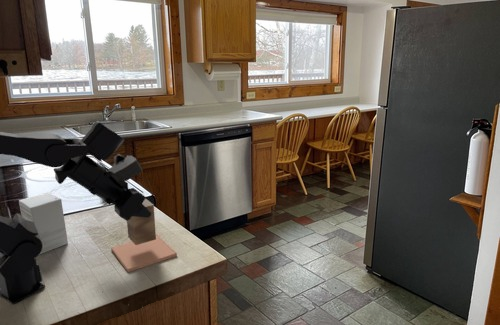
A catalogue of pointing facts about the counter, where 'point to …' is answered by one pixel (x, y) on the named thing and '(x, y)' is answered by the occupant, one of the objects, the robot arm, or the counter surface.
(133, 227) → the walnut block
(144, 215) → the robot arm
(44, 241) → the supplement box
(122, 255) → the terracotta mat
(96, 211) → the counter surface
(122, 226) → the counter surface
